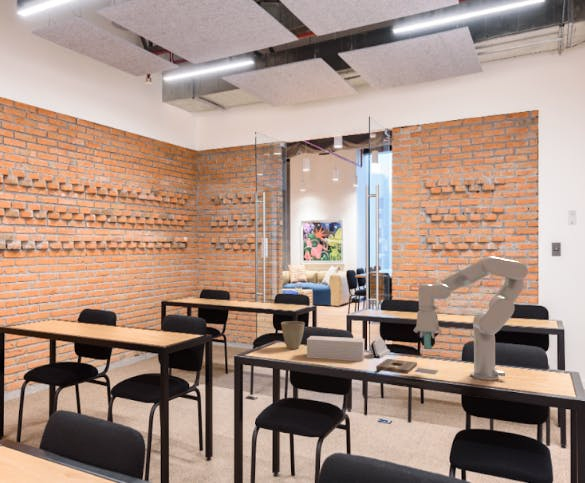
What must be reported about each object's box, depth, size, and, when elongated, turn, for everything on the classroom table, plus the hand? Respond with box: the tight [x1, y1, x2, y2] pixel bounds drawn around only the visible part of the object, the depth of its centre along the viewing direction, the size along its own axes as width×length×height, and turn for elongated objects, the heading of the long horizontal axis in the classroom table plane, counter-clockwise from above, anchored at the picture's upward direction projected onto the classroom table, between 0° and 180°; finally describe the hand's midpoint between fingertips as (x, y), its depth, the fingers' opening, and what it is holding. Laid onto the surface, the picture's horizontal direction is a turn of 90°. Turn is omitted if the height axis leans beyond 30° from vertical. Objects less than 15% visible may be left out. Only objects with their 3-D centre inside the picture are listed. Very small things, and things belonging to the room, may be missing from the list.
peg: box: [423, 332, 433, 350], centre depth 228 cm, size 4×4×8 cm
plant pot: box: [280, 320, 306, 350], centre depth 286 cm, size 15×15×16 cm
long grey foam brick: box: [306, 335, 366, 362], centre depth 263 cm, size 32×11×11 cm, turn 76°
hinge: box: [369, 338, 391, 359], centre depth 269 cm, size 17×5×10 cm, turn 148°
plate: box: [414, 367, 439, 375], centre depth 228 cm, size 10×8×2 cm
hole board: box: [376, 358, 418, 374], centre depth 235 cm, size 16×18×3 cm
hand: (428, 345), depth 228 cm, fingers closed on peg, 4 cm apart
